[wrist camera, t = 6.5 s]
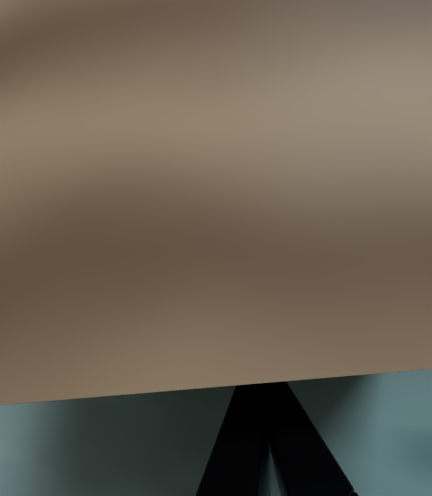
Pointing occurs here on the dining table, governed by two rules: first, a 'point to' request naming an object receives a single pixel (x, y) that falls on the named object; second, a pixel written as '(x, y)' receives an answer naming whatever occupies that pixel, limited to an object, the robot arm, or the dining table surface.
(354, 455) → the dining table surface
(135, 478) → the dining table surface
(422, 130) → the wood grain box
